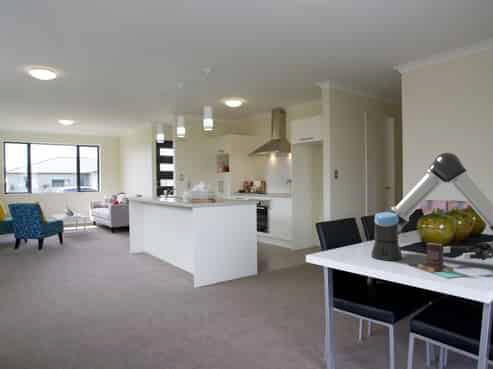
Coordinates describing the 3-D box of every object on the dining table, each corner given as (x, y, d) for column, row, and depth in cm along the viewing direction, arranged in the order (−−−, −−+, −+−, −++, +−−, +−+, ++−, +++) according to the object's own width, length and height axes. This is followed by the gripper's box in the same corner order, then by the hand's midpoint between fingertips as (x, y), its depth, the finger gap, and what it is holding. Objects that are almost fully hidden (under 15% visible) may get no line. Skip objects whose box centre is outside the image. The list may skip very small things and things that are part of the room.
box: (443, 270, 156) (443, 243, 156) (441, 272, 153) (441, 245, 152) (429, 267, 160) (429, 242, 160) (426, 269, 157) (426, 243, 156)
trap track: (408, 265, 165) (408, 261, 165) (427, 263, 168) (427, 259, 168) (432, 273, 150) (432, 269, 150) (453, 271, 153) (453, 267, 153)
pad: (432, 273, 150) (432, 272, 150) (453, 271, 153) (453, 270, 153) (446, 278, 143) (446, 277, 143) (467, 276, 146) (467, 275, 146)
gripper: (512, 264, 152) (475, 268, 146) (463, 252, 176) (429, 255, 170) (512, 247, 151) (475, 250, 146) (463, 238, 175) (429, 240, 170)
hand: (450, 253), depth 158 cm, fingers open, 13 cm apart
